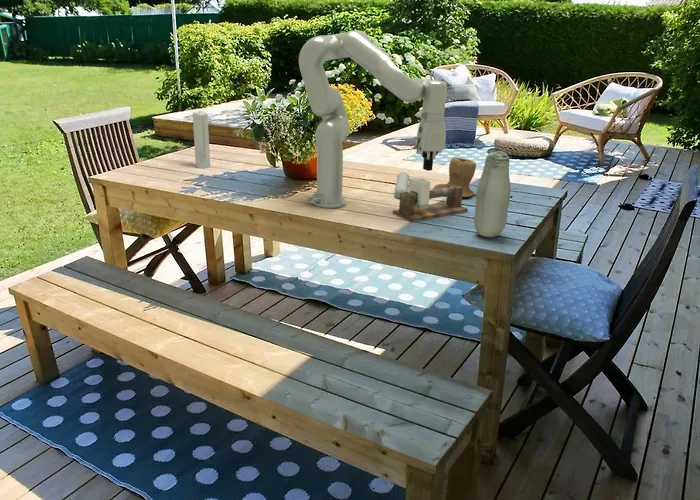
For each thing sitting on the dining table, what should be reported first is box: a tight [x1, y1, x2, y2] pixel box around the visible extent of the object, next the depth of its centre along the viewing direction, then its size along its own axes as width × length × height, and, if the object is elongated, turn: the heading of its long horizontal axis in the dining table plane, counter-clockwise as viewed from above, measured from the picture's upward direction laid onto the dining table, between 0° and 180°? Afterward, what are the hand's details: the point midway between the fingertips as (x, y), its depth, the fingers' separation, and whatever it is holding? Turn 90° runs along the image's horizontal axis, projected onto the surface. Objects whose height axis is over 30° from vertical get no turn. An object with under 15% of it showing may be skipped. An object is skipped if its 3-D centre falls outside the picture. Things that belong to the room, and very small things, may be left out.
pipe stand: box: [392, 185, 468, 223], centre depth 221 cm, size 26×11×9 cm, turn 122°
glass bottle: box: [473, 150, 511, 238], centre depth 195 cm, size 10×10×28 cm
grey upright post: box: [192, 110, 211, 169], centre depth 276 cm, size 6×6×25 cm
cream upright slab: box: [407, 176, 431, 209], centre depth 217 cm, size 4×7×10 cm, turn 32°
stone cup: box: [432, 156, 477, 198], centre depth 245 cm, size 15×12×15 cm
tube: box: [394, 171, 410, 199], centre depth 249 cm, size 5×5×25 cm
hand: (427, 169), depth 216 cm, fingers closed
